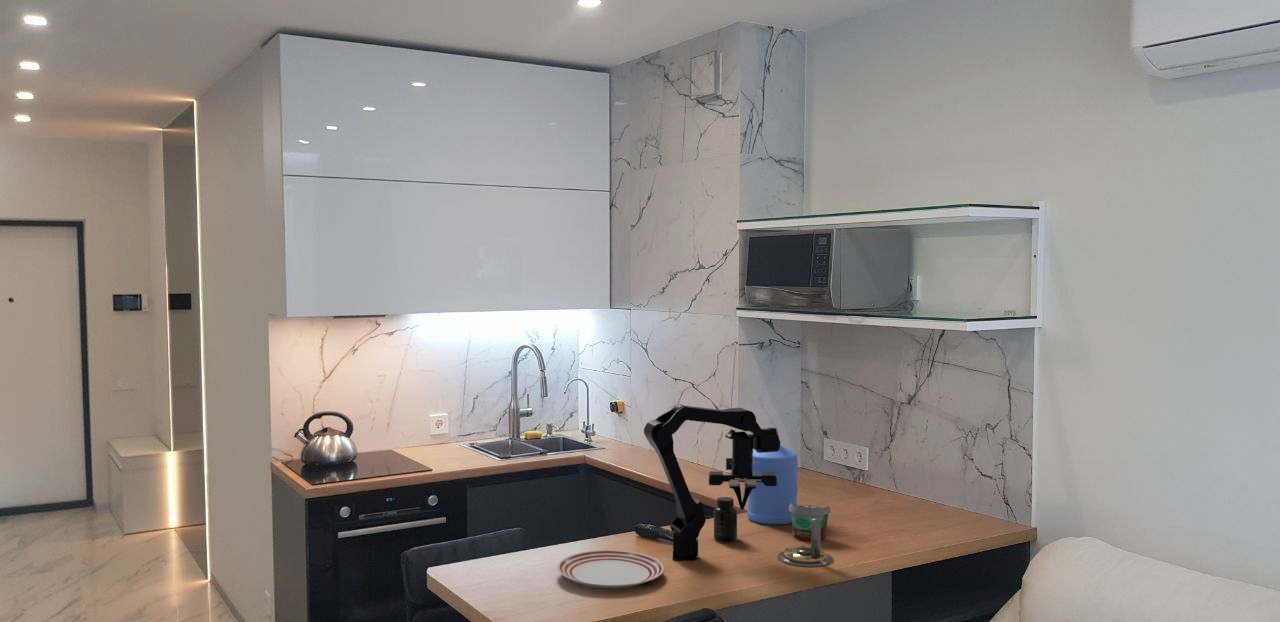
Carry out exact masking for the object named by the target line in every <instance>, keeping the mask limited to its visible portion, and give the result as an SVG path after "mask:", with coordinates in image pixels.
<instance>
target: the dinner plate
mask: <svg viewBox="0 0 1280 622" xmlns="http://www.w3.org/2000/svg"><path fill="white" fill-rule="evenodd" d="M556 568H557V571H558V573H559V574H560V575H562V576H563V577H565V578H566V579H568V580H569V581H572V582H574V583H577V584H581V585H584V586H587V587H589V588H595V589H609V590H610V589H611V590H612V589H613V590H614V589H615V590H616V589H624V588H625V589H626V588H630V587H631V588H632V587H634V586H638V585H642V584H644V583H647V582H650V581H654V580H656V579H657V578H659V577H660V576H662V575H663V573H664V572H665V566H664V564H663V563H662V562H661V561H660V560H659V559H657V558H655V557H653V556H650V555H647V554H645V553H640V552H636V551H631V550H630V551H629V550H619V549H618V550H617V549H595V550H587V551H586V550H585V551H581V552H577V553H574V554H570V555H569V556H566V557H564V558H562V559H561V560H560V561H559V562H558V563H557V566H556Z"/></svg>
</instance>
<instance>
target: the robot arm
mask: <svg viewBox="0 0 1280 622" xmlns="http://www.w3.org/2000/svg"><path fill="white" fill-rule="evenodd" d="M686 421H691V422H701V423H709V424H719V425H724V426H728V427H731V429H730V430H729V431H728V432H727V433H726V434H725V435H724V437H725V438H726V439H729V440H732V445H731V446H732V450H731V451H732V452H731V454H732V455H731V457H732V458H731V457H729V458H727V457H726V458H725V470H726V471H731V472H730V474H724V473H723V471H719V470H716V471H715V470H714V471H713V470H712V471H711V470H710V472H709V473H708V484H709V485H710V486H721V485H722V484H723V483H724V482H725V483H727V482H728V486H729V489H731V490H732V489H733V492H734V493H735V495H736V498H737V501H738V505H739V509H740V510H741V511H744V509H745V507H746V504H747V503H748V497H749V495H750V493H751V491H752V489H756V485H755V484H756V482H763V484H764V485H765V486H777V477H776V475H775V473H774V472H761V475H753V450H756V452H757V453H764V452H777V451H778V450H779V448H780V445H781V440H780V437H779V433H778V434H777V431H778V430H777V429H778V428H777V427H772V426H771V427H767V428H762V427H761V426H760V425H759V424H758V422H757V417H756V414H755V413H754V412H753V411H751V410H748V409H745V408H743V407H729V408H724V409H718V408H717V409H716V408H709V407H708V408H707V407H701V406H700V407H699V406H691V405H684V404H680V403H679V404H676V405H674V406H673V407H672V408H671V409H669V410H668V411H666V412H664V413H662V414H661V415H659V416H658V417H657V418H655V419H651V420H649V421H648V422H646V424H645V425H644V428H643V433H644V436H645V438H646V440H647V441H648V443H649V444H650V446H651V447H652V448H653V450H654V451H655V452H656V454H657V455H658V458H659V461H660V462H661V465H662V468H663V471H664V473H665V476H666V478H667V481H668V483H669V486H670V489H671V491H672V493H673V496H674V498H675V510H676V517H675V518H674V519H673V520H672V521H671V522H670V524H669V528H670V530H671V532H673V533H672V538H673V539H672V560H673V561H674V560H675V561H676V560H677V561H679V560H680V561H696V560H697V557H698V556H699V539H698V538H699V536H700V533H701V531H702V530H701V529H703V527H704V526H705V523H706V521H707V520H706V516H707V513H706V512H705V511H704V507H703V503H702V501H701V500H700V499H698V498H696V497H694V496H692V495H691V492H690V490H689V488H688V487H689V486H688V484H687V482H686V480H685V478H684V477H685V476H684V475H683V472H682V470H681V467H680V464H679V461H678V460H677V456H676V454H675V451H674V438H673V437H674V436H673V435H674V434H676V432H677V431H678V430H679V429H680V427H681V426H682V425H683V424H684V423H685V422H686ZM732 428H734V429H737V430H740V431H736V430H734V429H732ZM747 432H750V433H749V434H747ZM740 483H743V493H742V490H741V485H740ZM709 485H708V486H709Z"/></svg>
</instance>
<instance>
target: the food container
mask: <svg viewBox="0 0 1280 622" xmlns="http://www.w3.org/2000/svg"><path fill="white" fill-rule="evenodd" d="M789 511H790V512H791V516H792V523H791V525H792V537H793V538H794V539H795V540H798V541H800V542H801V541H802V542H807V543H809V542H810V543H811V519H812V518H819V519H821V523H820V542H822V541H824V540H825V539H826V537H827V536H826V535H827V527H828V521H829V519H828V518H829V515H830V514H831V512H832V511H831V507H830V505H827V506H824V507H821V506H820V507H818V506H815V505H810V504H809V505H807V504H806V505H798V504H797V505H792V504H790V505H789Z"/></svg>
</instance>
